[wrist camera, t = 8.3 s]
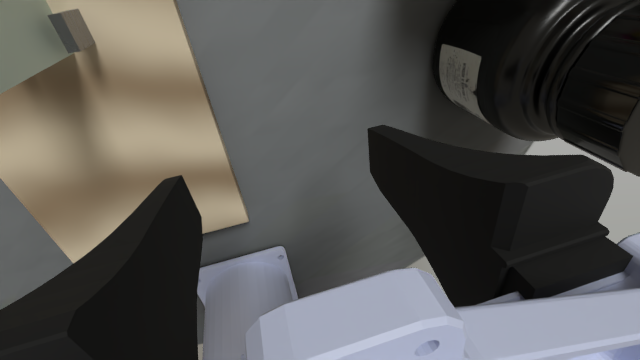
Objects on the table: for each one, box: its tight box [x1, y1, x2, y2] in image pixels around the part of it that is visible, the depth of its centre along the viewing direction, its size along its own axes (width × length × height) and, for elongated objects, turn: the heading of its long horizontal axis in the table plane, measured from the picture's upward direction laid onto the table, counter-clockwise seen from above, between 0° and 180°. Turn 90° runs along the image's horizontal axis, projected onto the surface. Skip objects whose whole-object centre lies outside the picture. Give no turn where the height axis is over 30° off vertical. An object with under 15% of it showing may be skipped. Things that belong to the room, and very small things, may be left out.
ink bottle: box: [433, 0, 640, 176], centre depth 17 cm, size 10×9×12 cm
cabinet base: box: [0, 0, 249, 263], centre depth 17 cm, size 22×12×1 cm, turn 8°
